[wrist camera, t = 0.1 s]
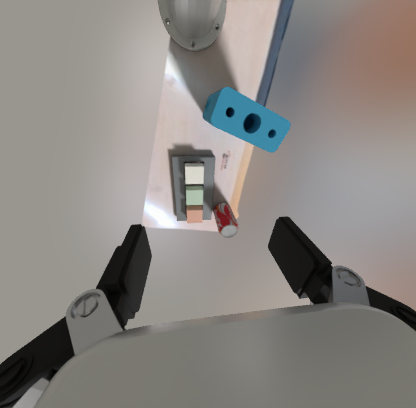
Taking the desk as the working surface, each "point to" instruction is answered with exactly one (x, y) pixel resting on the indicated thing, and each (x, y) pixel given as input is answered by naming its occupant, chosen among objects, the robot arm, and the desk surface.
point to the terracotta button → (194, 213)
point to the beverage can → (225, 220)
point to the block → (245, 119)
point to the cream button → (194, 173)
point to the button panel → (180, 183)
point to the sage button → (194, 195)
